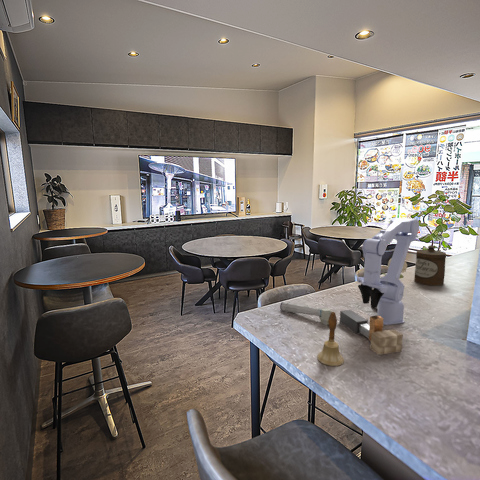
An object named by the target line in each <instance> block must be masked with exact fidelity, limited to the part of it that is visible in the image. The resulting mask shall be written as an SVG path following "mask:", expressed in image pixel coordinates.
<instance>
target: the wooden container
mask: <svg viewBox="0 0 480 480" xmlns="http://www.w3.org/2000/svg"><path fill="white" fill-rule="evenodd" d="M435 249H436V247H435V246H434V245H432V244H430V245H428V246H427V249H419V250H416V252H415V253H416V254H415V255H416V256H415V257H416V258H415V266H414V282H415V283H418V284H421V285H426V286H435V287H436V286H443V285H444V284H445V283H444V282H445V273H446V259H447V258H446V257H447V253H446V252H444V251H441V250H435Z"/></svg>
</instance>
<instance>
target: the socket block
mask: <svg viewBox="0 0 480 480" xmlns="http://www.w3.org/2000/svg"><path fill="white" fill-rule="evenodd" d="M403 335H404V334H402V333H401V332H399V331H398V330H396V329H394V328H393V329H387V330H386V329H385V330H383V331H379V332H372V333H371V341H370V350H371V351H372V352H374V353H375V354H377V355H378V356H379V355H388V354H391V353H392V354H393V353H399V352H402V350H403V347H402V346H403Z"/></svg>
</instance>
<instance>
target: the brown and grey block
mask: <svg viewBox="0 0 480 480" xmlns="http://www.w3.org/2000/svg"><path fill="white" fill-rule="evenodd" d="M358 331H359V332H360V333H359V334H361V335H363V336H364V337H366V338H367V339H368V341H369V342H371V333H372V332H379V331H384V324H383V318H382V317H380V316H379V315H378V316H377V315H372V316H369V324H367V323H365V322H363V323H358Z"/></svg>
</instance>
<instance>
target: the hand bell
mask: <svg viewBox="0 0 480 480" xmlns="http://www.w3.org/2000/svg"><path fill="white" fill-rule="evenodd" d="M337 324H338V319H337V315H336V312H335V311H332V312H331V314H330V317H329V321H328V324H327V326H328V329H329V330H328V331H329V334H328V340H325V341H324V343H323V346H322V350H321V351H320V352H319V353H318V354H317V357H316V358H317V360H318V361H319V362H320V363H322V364H323V365H326V366H330V367H340V366H341V365H343V364H344V362H345V360H344V356H342V355H341V353H340V347H339V343H338V342H337V341H335V332H336V328H337Z"/></svg>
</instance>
